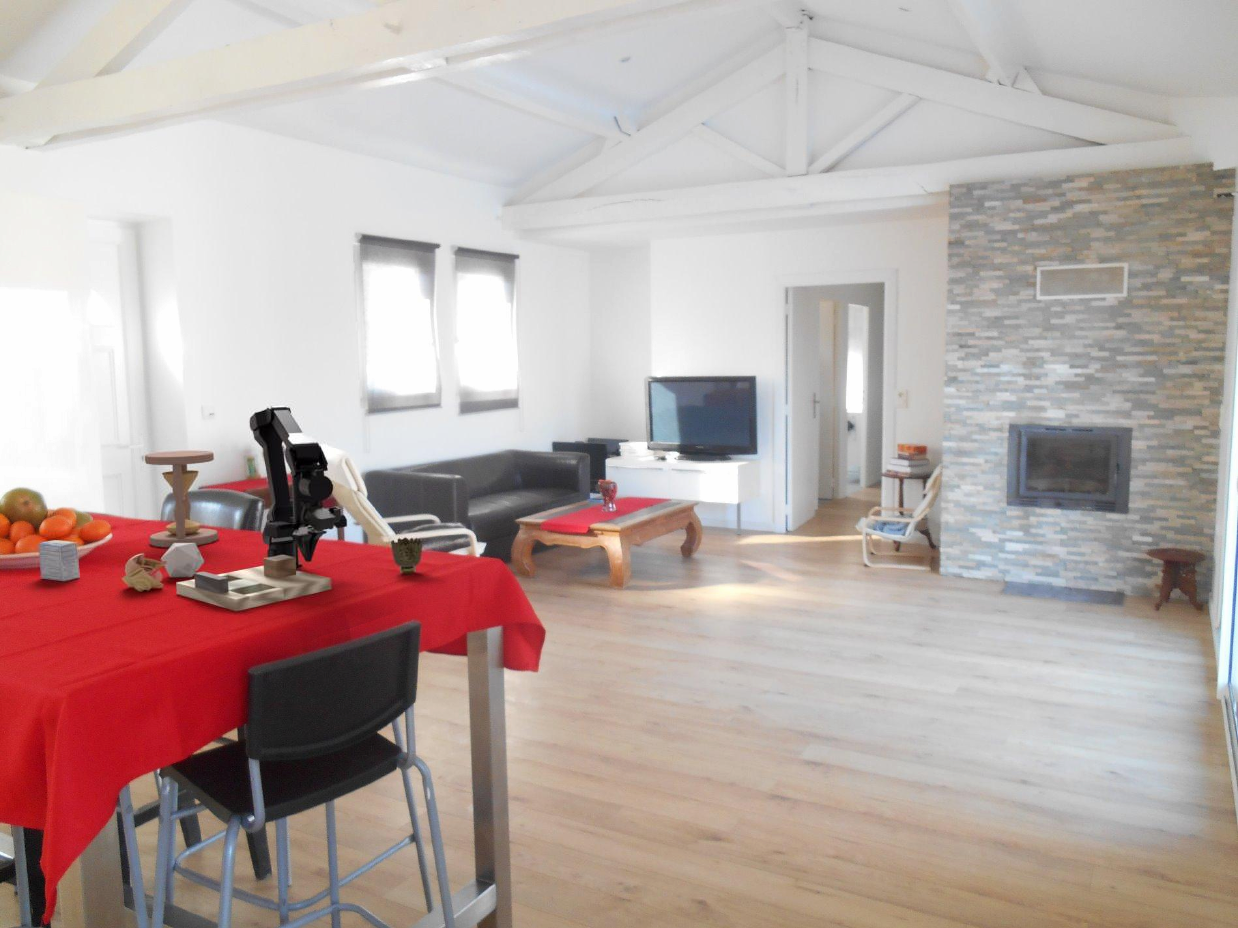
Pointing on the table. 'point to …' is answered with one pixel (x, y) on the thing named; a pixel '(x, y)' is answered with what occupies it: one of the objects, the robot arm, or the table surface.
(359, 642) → the table surface
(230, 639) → the table surface
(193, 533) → the hourglass
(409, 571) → the cup
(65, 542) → the stool softener box
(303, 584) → the board
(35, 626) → the table surface
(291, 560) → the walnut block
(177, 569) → the die
